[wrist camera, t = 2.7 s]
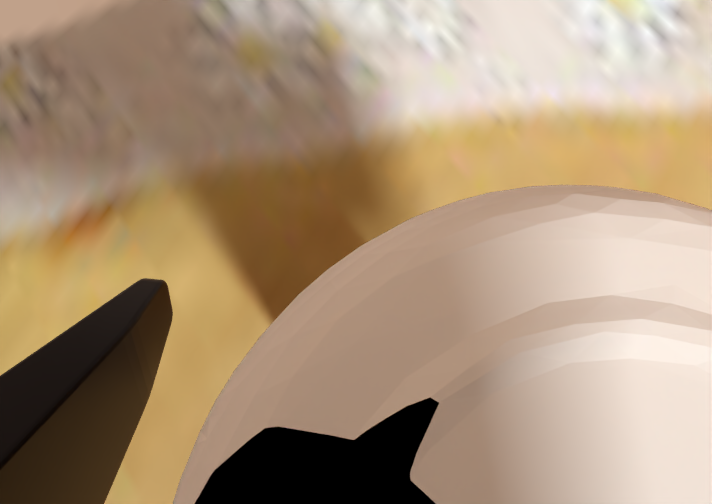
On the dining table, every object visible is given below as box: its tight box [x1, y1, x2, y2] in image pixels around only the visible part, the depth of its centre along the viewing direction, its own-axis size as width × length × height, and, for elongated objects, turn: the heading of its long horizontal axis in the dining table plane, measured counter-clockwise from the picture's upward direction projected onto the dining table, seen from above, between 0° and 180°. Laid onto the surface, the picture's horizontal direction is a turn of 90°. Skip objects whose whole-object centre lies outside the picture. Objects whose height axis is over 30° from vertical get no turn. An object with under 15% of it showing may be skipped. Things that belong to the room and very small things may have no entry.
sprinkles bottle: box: [173, 185, 712, 504], centre depth 9 cm, size 5×5×13 cm
